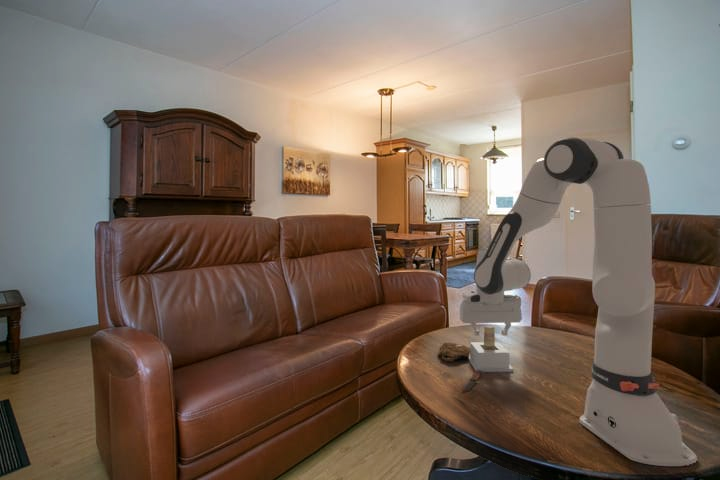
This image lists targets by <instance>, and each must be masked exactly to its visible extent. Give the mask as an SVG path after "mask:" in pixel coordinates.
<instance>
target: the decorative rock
mask: <svg viewBox="0 0 720 480" xmlns="http://www.w3.org/2000/svg"><path fill="white" fill-rule="evenodd" d="M437 354H438V355H439V356H441V358H442V360H443V361H444V362H447V361H449V362H448V363H450V361H451V363H454V362H455V361H456V360H458V359H462V358H463V357H466V358H467V357H468V355H470V347H468V346H466V345H463V344H459V343H455V342H453V343H452V342H443V343H442V345H440V346H439V349H438V352H437Z"/></svg>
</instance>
